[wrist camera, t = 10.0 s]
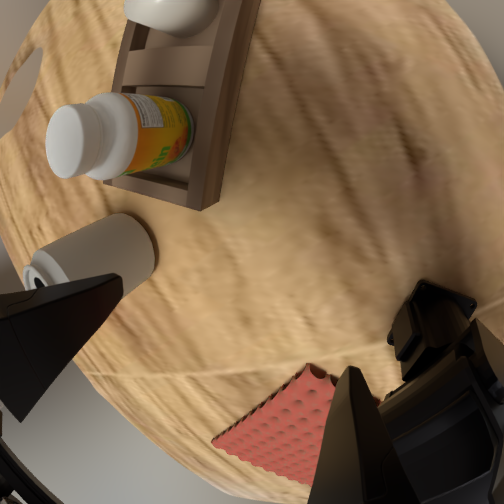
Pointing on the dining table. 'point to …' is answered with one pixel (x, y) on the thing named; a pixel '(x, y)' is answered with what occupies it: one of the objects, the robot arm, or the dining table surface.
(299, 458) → the red studded mat
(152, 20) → the white rounded cylinder
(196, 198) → the caddy
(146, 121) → the supplement bottle
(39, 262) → the can
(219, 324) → the dining table surface
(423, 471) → the robot arm
